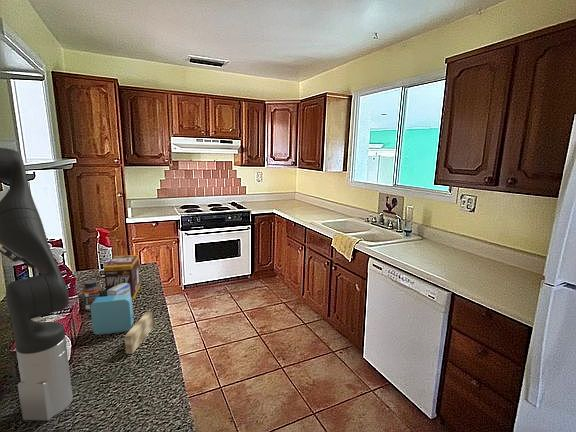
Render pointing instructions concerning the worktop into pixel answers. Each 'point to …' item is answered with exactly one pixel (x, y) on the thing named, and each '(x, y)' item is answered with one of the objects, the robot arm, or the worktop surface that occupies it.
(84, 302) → the supplement bottle
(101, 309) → the blue rounded block
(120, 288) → the medicine box
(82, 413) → the worktop surface
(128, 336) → the birch board
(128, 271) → the supplement box
